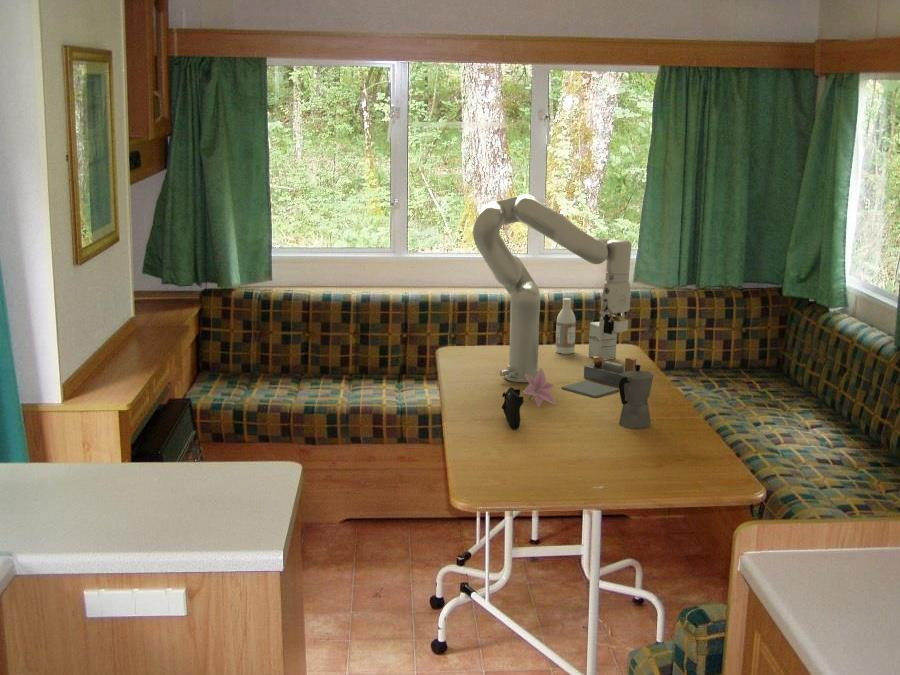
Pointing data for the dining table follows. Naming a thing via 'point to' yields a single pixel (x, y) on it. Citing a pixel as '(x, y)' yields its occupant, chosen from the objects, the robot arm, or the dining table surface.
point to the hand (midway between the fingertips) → (613, 331)
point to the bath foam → (565, 329)
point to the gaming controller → (512, 407)
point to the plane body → (608, 370)
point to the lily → (539, 388)
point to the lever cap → (616, 323)
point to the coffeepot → (635, 398)
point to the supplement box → (602, 342)
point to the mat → (590, 389)
